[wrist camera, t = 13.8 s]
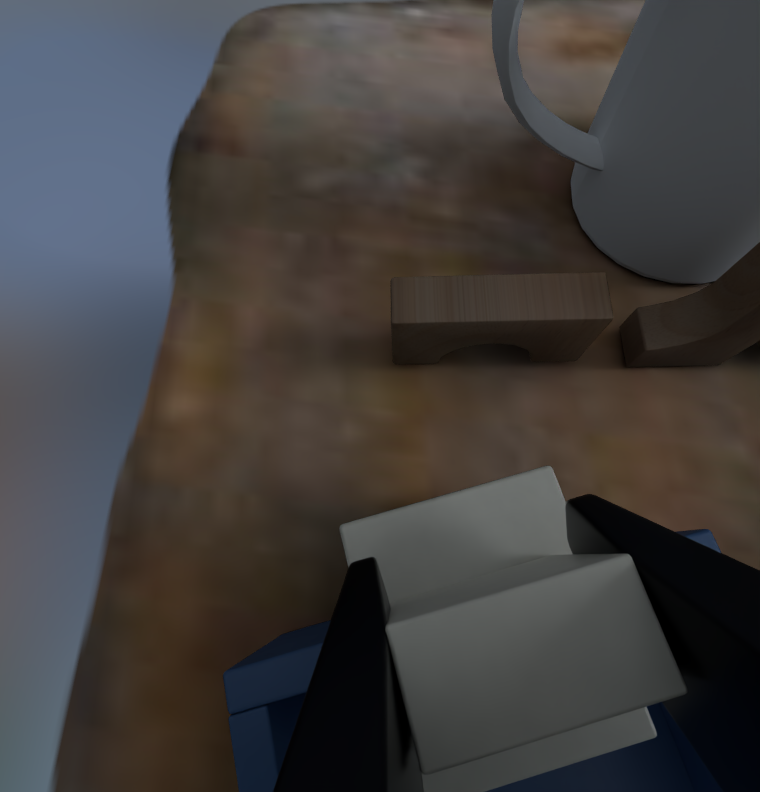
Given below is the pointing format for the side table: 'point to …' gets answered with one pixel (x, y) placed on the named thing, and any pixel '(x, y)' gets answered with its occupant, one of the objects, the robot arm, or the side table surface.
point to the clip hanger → (512, 634)
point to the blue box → (560, 788)
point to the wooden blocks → (573, 317)
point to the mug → (662, 138)
